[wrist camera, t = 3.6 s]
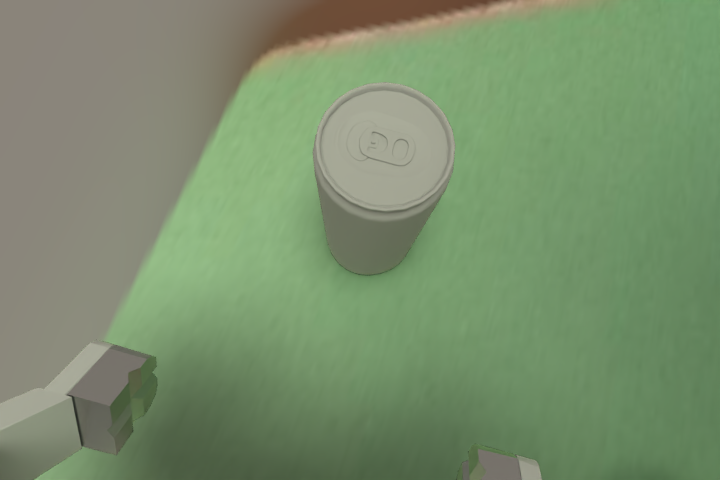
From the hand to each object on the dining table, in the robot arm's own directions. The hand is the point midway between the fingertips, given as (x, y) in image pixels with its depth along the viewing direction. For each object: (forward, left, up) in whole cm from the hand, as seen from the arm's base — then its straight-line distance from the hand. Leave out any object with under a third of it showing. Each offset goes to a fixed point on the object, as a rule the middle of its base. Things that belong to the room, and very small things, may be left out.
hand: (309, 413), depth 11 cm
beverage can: (0, -8, -13) cm, 16 cm away
